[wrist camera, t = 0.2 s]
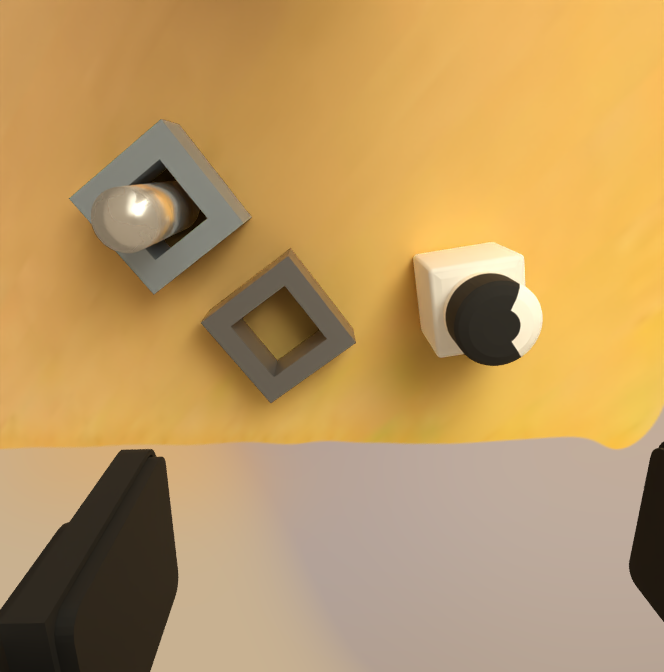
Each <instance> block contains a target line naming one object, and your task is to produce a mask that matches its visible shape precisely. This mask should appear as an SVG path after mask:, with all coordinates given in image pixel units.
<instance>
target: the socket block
mask: <svg viewBox="0 0 664 672" xmlns="http://www.w3.org/2000/svg"><path fill="white" fill-rule="evenodd" d="M166 169H168V170H169V171H170V173H171V174H172V175H173V176H174V178H175V179H176V180H177V181H178V183H179V184H180V185H181V186H182V187H183V189H184V190H185V191H186V192H187V194H188V195H189V196H190V197H191V199H192V200H193V201H194V202H195V204H196V205H197V206H198V207H199V208H200V210H201V211H202V212H203V213H204V215H205V216H206V217H207V219H206V220H205V221H203V222H202V223H201V224H200V225H198V226H197V227H196V228H195V229H194V230H192V231H191V232H190V233H189V234H187V235H186V236H185V237H184V238H182V239H181V240H180V241H179V242H177V243H176V244H175V245H174V246H172V247H171V248H170V247H169V245H168V244H167V243H166V242H165V241H164V240H162V241H160V242H157V243H155V244H153V245H151V246H149V247H147V248H145V249H143V250H141V251H138V252H135V253H121V252H117V251H116V252H117V253H118V255H119V256H120V257H121V258H122V259H123V260H124V261H125V262H126V264H127V265H128V266H129V267H130V268H131V269H132V270H133V272H134V273H135V274H136V275H137V276H138V277H139V278H140V279H141V281H142V282H143V283H144V284H145V285H146V286H147V287H148V288H149V290H150V291H151V292H152V293H153V294H155V293H156V292H158V291H159V290H160V289H162V288H163V287H164V286H165V285H167V284H168V283H169V282H170V281H172V280H173V279H174V278H175V277H177V276H178V275H179V274H181V273H182V272H183V271H184V270H186V269H187V268H188V267H189V266H191V265H192V264H193V263H194V262H196V261H197V260H198V259H199V258H201V257H202V256H203V255H205V254H206V253H207V252H208V251H210V250H211V249H212V248H213V247H215V246H216V245H217V244H218V243H220V242H221V241H222V240H223V239H225V238H226V237H227V236H229V235H230V234H231V233H232V232H234V231H235V230H236V229H237V228H239V227H240V226H241V225H242V224H244V223H245V222H246V221H247V220H249V219H250V218H251V216H250V214H249V213H248V212H247V211H246V209H245V208H244V207H243V205H242V204H241V203H240V202H239V200H238V199H237V198H236V196H235V195H234V194H233V193H232V191H231V190H230V189H229V188H228V186H227V185H226V184H225V182H224V181H223V180H222V179H221V177H220V176H219V175H218V173H217V172H216V171H215V170H214V168H213V167H212V166H211V165H210V163H209V162H208V161H207V159H206V158H205V157H204V156H203V154H202V153H201V152H200V150H199V149H198V148H197V147H196V145H195V144H194V143H193V142H192V140H191V139H190V138H189V136H188V135H187V134H186V133H185V131H184V130H183V129H182V128H181V126H180V125H179V124H176V123H173V122H169V121H166V120H163V119H161V120H159V121H158V122H157V123H156V124H155V125H154V126H153V127H151V128H150V129H149V130H148V131H147V132H146V133H144V134H143V135H142V136H141V137H140V138H139V139H137V140H136V141H135V142H134V143H133V144H132V145H131V146H129V147H128V148H127V149H126V150H125V151H124V152H122V153H121V154H120V155H119V156H118V157H117V158H115V159H114V160H113V161H112V162H111V163H110V164H109V165H107V166H106V167H105V168H104V169H103V170H102V171H100V172H99V173H98V174H97V175H96V176H95V177H93V178H92V179H91V180H90V181H89V182H88V183H87V184H85V185H84V186H83V187H82V188H81V189H80V190H78V191H77V192H76V193H75V194H74V195H73V196H71V197H70V198H69V199H70V200H71V201H72V203H73V204H74V205H75V206H76V207H77V208H78V209H79V210H80V212H81V213H82V214H83V215H84V216H85V217H86V218H87V219H88V221H89V222H90V223H91V209H92V206H93V203H94V201H95V200H96V198H97V197H98V196H99V195H100V194H101V193H102V192H104V191H105V190H107V189H110V188H113V187H120V186H129V185H138V184H148V183H150V182H151V181H153V180H154V179H155V178H156V177H157V176H159V175H160V174H161V173H162V172H163V171H165V170H166ZM91 224H92V223H91Z"/></svg>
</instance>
